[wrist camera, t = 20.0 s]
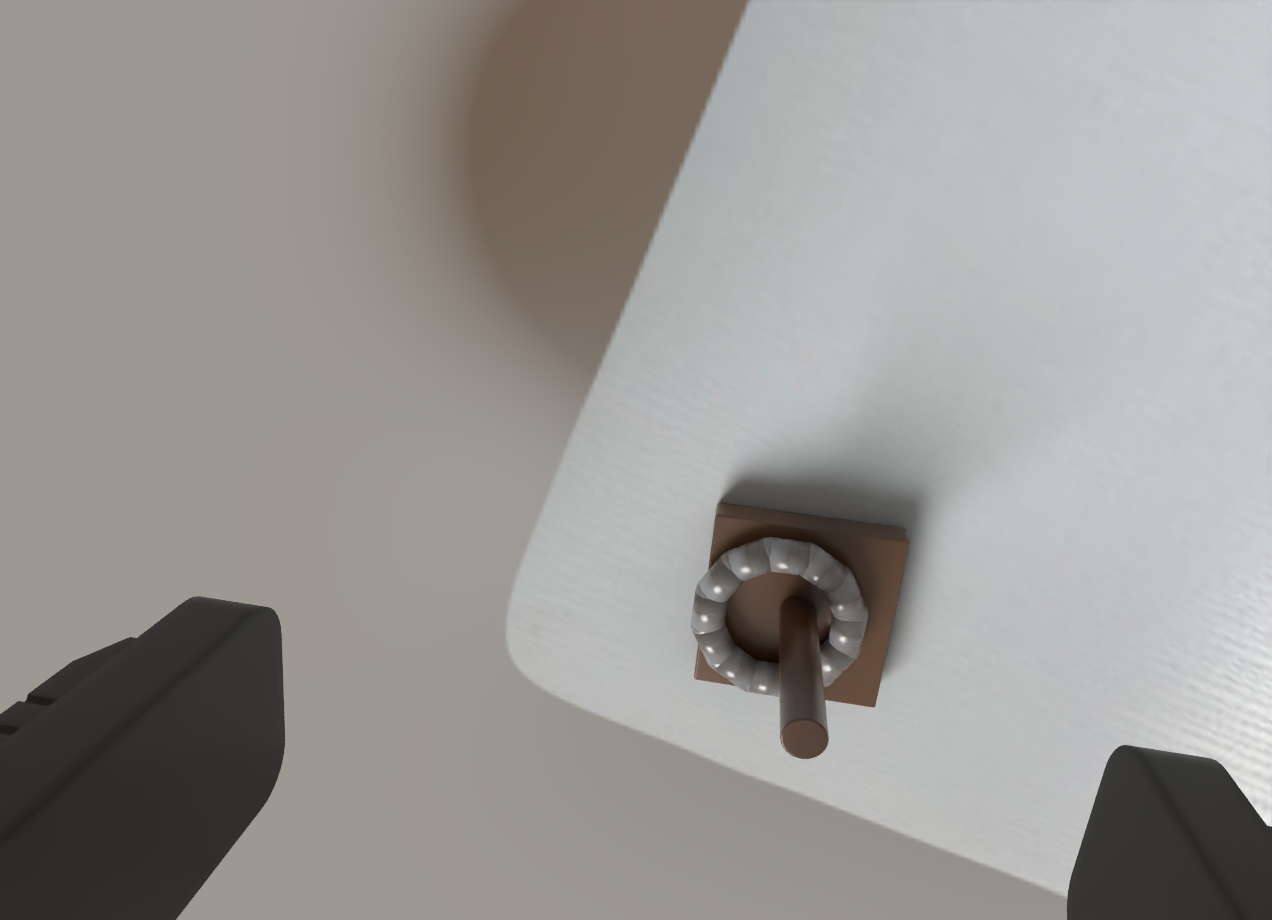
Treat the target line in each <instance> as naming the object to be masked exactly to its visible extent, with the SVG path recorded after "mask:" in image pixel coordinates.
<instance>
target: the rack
mask: <svg viewBox="0 0 1272 920" xmlns="http://www.w3.org/2000/svg"><path fill="white" fill-rule="evenodd" d="M765 537H776V538H783V539H789V540H796V541H803V542H810V543H814V544H816V545H817V546H819V547H820V548H822V549H823V550H824V551H826V552H827V553H829V554H830V555H831V556H833V557H834V558H835V559H837V560H838V561H839V562H841V563H842V564H844V565H845V566H846V567H848V568H849V569H850V570H851V571H852V573H853V575H854V577H855V580H856V582H857V584H858V587H859V589H860V592H861V594H862V596H863V599H864V601H865V604H866V606H867V609H868V620H867V625H866V629H865V634H864V639H863V644H862V649H861V653H860V655H859V656H858V658H857V659H856V660H855V661H854V662H853V663H852V664H851V665H850V666H849V667H848V668H847V669H846V670H845V671H844V672H843V673H842V674H841V675H840V676H839V677H838V678H837V679H836V680H835V681H834V682H833V683H832V684H831V685H829V686H827V687H824V686H823V676H822V665H821V655H820V646H821V645H822V644H823V643H824V642H825V641H826V640H827V639H828V638H829V634H830V628H831V623H832V618H833V613H832V611H831V608H830V606H829V604H828V601H827V599H826V597H825V594H824V592H823V591H821V590H820V589H819V588H817V587H816V586H815V585H813V584H812V583H810V582H809V581H808V580H806V579H805V578H804V577H802V576H799V575H793V574H786V573H779V572H769V573H766V574H763V575H760V576H757V577H754V578H751V579H748V580H745V581H744V582H743V583H742V584H741V585H740V587H739V588H738V589H737V590H736V591H735V592H734V593H733V595H732V596H731V597H730V598H729V599H728V603H727V610H726V617H725V624H726V626H727V629H728V631H729V633H730V635H731V637H732V639H733V642H734V644H735V645H737V646H738V647H739V648H741V649H742V650H743V651H745V652H746V653H748V654H749V655H750V656H752V657H753V658H755V659H756V660H761V661H767V662H774V663H779V682H780V739H781V743H782V746H783V747H784V749H785V750H786V751H787V752H788V753H789V754H791V755H792V756H794V757H797V758H801V759H810V758H814V757H816V756H818V755H820V754H821V753H822V752H823V751H824V750H825V749H826V747H827V745H828V740H829V738H828V727H827V717H826V706H825V700H830V701H836V702H842V703H849V704H855V705H861V706H868V707H875V705H876V700H877V696H878V691H879V686H880V681H881V677H882V672H883V667H884V662H885V658H886V653H887V648H888V643H889V639H890V634H891V629H892V624H893V620H894V615H895V610H896V605H897V601H898V596H899V591H900V586H901V582H902V577H903V572H904V567H905V563H906V558H907V553H908V548H909V544H910V543H909V539H908V537H907V534H906V531H905V529H904V528H897V527H890V526H883V525H876V524H868V523H861V522H854V521H847V520H840V519H832V518H825V517H818V516H811V515H804V514H796V513H789V512H782V511H775V510H768V509H761V508H753V507H746V506H739V505H732V504H725V503H718V504H717V510H716V517H715V524H714V532H713V539H712V547H711V554H710V562H709V569H708V571H709V570H710V568H711V567H712V566H713V565H714V564H715V563H716V561H717V560H718V559H719V558H720V557H721V555H722V554H723V553H725V552H726V551H728V550H731V549H734V548H737V547H739V546H742V545H745V544H748V543H751V542H753V541H756V540H759V539H762V538H765ZM694 678H695V679H697V680H703V681H710V682H716V683H722V684H729V685H735V684H734V683H732V682H731V681H729V680H728V679H727V678H725V677H724V676H722V675H721V674H720V673H718V672H717V671H715V670H714V669H713V668H711V667H710V666H709V664H708V663H707V661H706V659H705V656H704V654H703V652H702V650H701V648H700V646H699V644H698V651H697V659H696V666H695V674H694ZM735 686H736V685H735Z"/></svg>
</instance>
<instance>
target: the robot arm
mask: <svg viewBox="0 0 1272 920" xmlns="http://www.w3.org/2000/svg"><path fill="white" fill-rule="evenodd" d="M284 726H285V723H284V697H283V665H282V636H281V626H280V621H279V618H278V616H277V614H276V613H275V611H274V610H273V609H271V608H268V607H263V606H257V605H251V604H244V603H238V602H231V601H225V600H219V599H212V598H206V597H200V596H199V597H192V598H190V599H188V600H186V601H185V602H183V603H182V604H181V605H179V606H178V607H177V608H176V609H174V610H173V611H172V612H170V613H169V614H168V615H166V616H165V617H164V618H162V619H161V620H160V621H159V622H157V623H156V624H155V625H153V626H152V627H151V628H150V629H148V630H147V631H146V632H144V633H143V634H142V635H140V636H139V637H138V638H132V637H129V638H127V639H124V640H122V641H120V642H117V643H115V644H113V645H111V646H108V647H105V648H103V649H101V650H98V651H96V652H94V653H91V654H89V655H87V656H85V657H82V658H80V659H77V660H75V661H72V662H71V663H70V664H68V665H67V666H66V667H65V668H63V669H62V670H60V671H59V672H57V673H56V674H55V675H53V676H52V677H51V678H49V679H48V680H47V681H45V682H44V683H42V684H41V685H40V686H38V687H37V688H36V689H34V690H33V691H32V692H31V693H29V694H28V697H27V700H26V701H25V702H20V701H18V702H17V703H15V704H14V705H13V706H11V707H10V708H8V709H7V710H6V711H4V712H3V713H2V714H0V920H176V919H177V917H178V916H179V915H180V914H181V912H182V911H183V910H184V908H185V907H186V906H187V905H188V903H189V902H190V901H191V899H192V898H193V897H194V895H195V894H196V893H197V892H198V890H199V889H200V888H201V887H202V885H203V884H204V883H205V881H206V880H207V879H208V877H209V876H210V875H211V874H212V872H213V871H214V870H215V868H216V867H217V866H218V865H219V863H220V862H221V861H222V859H223V858H224V857H225V855H226V854H227V853H228V852H229V850H230V849H231V847H232V846H233V845H234V844H235V842H236V841H237V840H238V839H239V837H240V836H241V835H242V833H243V832H244V831H245V829H246V828H247V827H248V826H249V824H250V823H251V821H252V820H253V819H254V818H255V817H256V815H257V814H258V813H259V811H260V810H261V809H262V807H263V806H264V804H265V803H266V802H267V800H268V798H269V796H270V794H271V792H272V790H273V788H274V786H275V783H276V781H277V778H278V775H279V772H280V769H281V765H282V760H283V755H284V747H285V727H284ZM1067 920H1272V827H1270V826H1267V825H1266V824H1265V822H1264V821H1263V820H1262V818H1261V817H1260V816H1259V814H1258V813H1257V812H1256V810H1255V809H1254V807H1253V806H1252V805H1251V803H1250V802H1249V801H1248V799H1247V798H1246V796H1245V795H1244V794H1243V792H1242V791H1241V790H1240V788H1239V787H1238V786H1237V784H1236V783H1235V781H1234V780H1233V779H1232V777H1231V776H1230V775H1229V773H1228V772H1227V771H1226V769H1225V768H1224V767H1223V766H1222V765H1221V764H1220V763H1219V762H1217V761H1216V760H1213V759H1211V758H1205V757H1198V756H1192V755H1186V754H1179V753H1173V752H1167V751H1160V750H1154V749H1148V748H1141V747H1135V746H1129V745H1123V746H1120V747H1118V748H1117V749H1116V750H1115V751H1114V752H1113V753H1112V755H1111V756H1110V758H1109V760H1108V762H1107V765H1106V767H1105V770H1104V773H1103V777H1102V780H1101V783H1100V786H1099V789H1098V793H1097V796H1096V799H1095V802H1094V805H1093V809H1092V812H1091V815H1090V818H1089V821H1088V824H1087V828H1086V831H1085V834H1084V837H1083V840H1082V844H1081V847H1080V850H1079V853H1078V856H1077V860H1076V863H1075V866H1074V869H1073V872H1072V876H1071V880H1070V884H1069V890H1068V900H1067Z"/></svg>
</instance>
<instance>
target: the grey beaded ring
mask: <svg viewBox="0 0 1272 920" xmlns="http://www.w3.org/2000/svg"><path fill="white" fill-rule="evenodd" d="M769 572H779V573H786V574H793V575H799V576H802V577H804V578H805V579H806V580H808V581H809V582H810V583H812V584H813V585H815V586H816V587H817V588H819V589H820V590H821V591H823V592H824V594H825V597H826V599H827V601H828V604H829V606H830V608H831V611H832V613H833V618H832V623H831V628H830V634H829V638H828V639H827V640H826V641H825V642H824V643H823V644H822V645H821V646H820V655H821V665H822V676H823V686H824V687H827V686H829V685H831V684H832V683H833V682H834V681H835V680H836V679H837V678H838V677H839V676H840V675H841V674H842V673H843V672H844V671H845V670H846V669H847V668H848V667H849V666H850V665H851V664H852V663H853V662H854V661H855V660H856V659H857V658H858V656H859V655H860V653H861V649H862V644H863V639H864V634H865V629H866V625H867V620H868V609H867V606H866V604H865V601H864V599H863V596H862V594H861V592H860V589H859V587H858V584H857V582H856V580H855V577H854V575H853V573H852V571H851V570H850V569H849V568H848V567H846V566H845V565H844V564H842V563H841V562H839V561H838V560H837V559H835V558H834V557H833V556H831V555H830V554H829V553H827V552H826V551H824V550H823V549H822V548H820V547H819V546H817V545H816V544H814V543H810V542H803V541H796V540H789V539H783V538H776V537H765V538H762V539H759V540H756V541H753V542H751V543H748V544H745V545H742V546H739V547H737V548H734V549H731V550H728V551H726V552H725V553H723V554H722V555H721V557H720V558H719V559H718V560H717V561H716V563H715V564H714V565H713V566H712V567H711V568H710V570H709V571H708V572H707V573H706V574H705V575H704V577H703V578H702V579H701V580H700V581H699V583H698V584H697V587H696V591H695V599H694V606H693V614H692V622H691V627H692V631H693V633H694V635H695V637H696V639H697V642H698V644H699V646H700V648H701V650H702V652H703V654H704V656H705V659H706V661H707V663H708V664H709V666H710V667H711V668H713V669H714V670H715V671H717V672H718V673H720V674H721V675H722V676H724V677H725V678H727V679H728V680H729V681H731V682H732V683H734V684H735V685H736V686H738V687H739V688H741V689H742V690H744V691H746V692H751V693H758V694H764V695H770V696H776V697H780V682H779V663H774V662H767V661H761V660H756V659H755V658H753V657H752V656H750V655H749V654H748V653H746V652H745V651H743V650H742V649H741V648H739V647H738V646H737V645H735V644H734V642H733V639H732V637H731V635H730V633H729V631H728V629H727V626H726V624H725V617H726V610H727V603H728V599H729V598H730V597H731V596H732V595H733V593H734V592H735V591H736V590H737V589H738V588H739V587H740V585H741V584H742V583H743V582H744V581H745V580H748V579H751V578H754V577H757V576H760V575H763V574H766V573H769Z"/></svg>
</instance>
